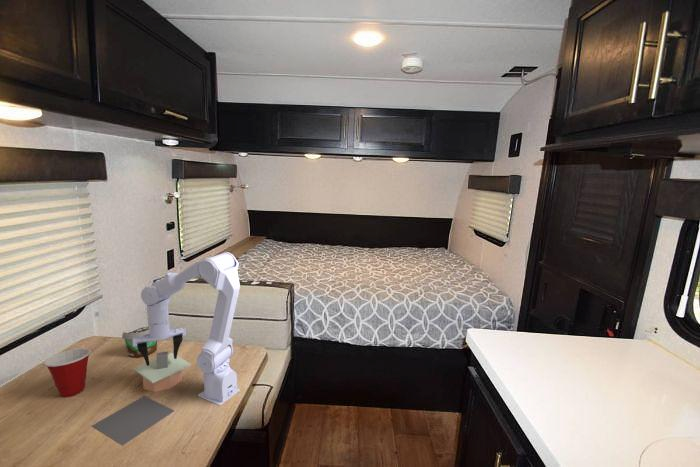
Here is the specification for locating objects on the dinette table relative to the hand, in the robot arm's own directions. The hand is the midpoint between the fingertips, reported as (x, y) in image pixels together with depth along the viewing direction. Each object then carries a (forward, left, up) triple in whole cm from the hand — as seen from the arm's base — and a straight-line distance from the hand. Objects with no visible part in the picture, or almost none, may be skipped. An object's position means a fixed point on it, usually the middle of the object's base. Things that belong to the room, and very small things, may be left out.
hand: (161, 360), depth 106 cm
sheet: (0, 0, -2) cm, 3 cm away
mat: (-9, +14, -7) cm, 19 cm away
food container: (+22, -8, -8) cm, 25 cm away
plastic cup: (+20, +16, -8) cm, 27 cm away
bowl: (0, 0, -8) cm, 8 cm away
